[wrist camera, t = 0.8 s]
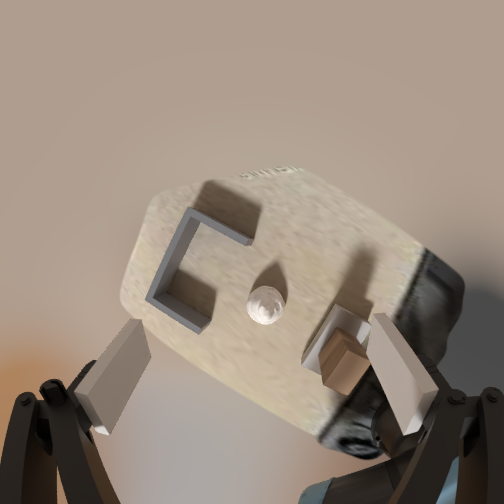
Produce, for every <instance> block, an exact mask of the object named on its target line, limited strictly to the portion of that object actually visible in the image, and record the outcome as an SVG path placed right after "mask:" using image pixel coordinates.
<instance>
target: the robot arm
mask: <svg viewBox="0 0 504 504" xmlns="http://www.w3.org/2000/svg"><path fill="white" fill-rule="evenodd" d="M366 354H367V356H368V358H369V360H370V362H371V365H372V367H373V369H374V371H375V373H376V375H377V377H378V379H379V381H380V383H381V386H382V388H383V390H384V392H385V394H386V397H387V400H386V401H385V402H384V403H383V404H382V405H381V406H380V407H379V409H378V410H377V412H376V413H375V415H374V417H373V420H372V423H371V434H372V437H373V440H374V443H375V444H376V446H377V447H378V448H379V449H380V450H381V451H382V452H383V453H385V454H386V455H387V456H388V457H389V458H390V460H388V461H385V462H382V463H380V464H377V465H374V466H372V467H369V468H366V469H363V470H360V471H357V472H354V473H351V474H348V475H345V476H341V477H338V478H335V477H333V478H331V479H329V480H327V481H323V482H320V483H317V484H313V485H311V486H309V487H307V488H306V489H305V490H304V491H303V493H302V494H301V496H300V499H299V502H298V504H504V395H503V393H502V392H501V391H500V390H499V389H497V388H494V387H488V388H485V389H484V390H483V392H482V393H481V395H480V396H475V397H474V396H473V397H467V396H466V394H465V393H463V392H462V391H460V390H457V389H452V388H451V387H450V386H449V384H448V383H447V381H446V380H445V378H444V377H443V376H442V374H441V373H440V372H439V370H438V369H437V367H435V364H434V363H433V362H432V360H431V359H430V358H428V357H427V356H425V355H424V354H419V355H415V353H414V352H413V350H412V349H411V348H410V346H409V345H408V343H407V342H406V341H405V339H404V338H403V336H402V335H401V334H400V332H399V331H398V330H397V328H396V327H395V325H394V324H393V323H392V321H391V320H390V319H389V317H388V316H387V315H386V313H378V314H373V317H372V323H371V329H370V335H369V341H368V346H367V351H366ZM150 359H151V354H150V350H149V347H148V343H147V339H146V335H145V332H144V328H143V324H142V320H140V319H130V320H129V321H128V322H127V324H126V325H125V326H124V327H123V328H122V330H121V331H120V332H119V334H118V335H117V336H116V337H115V339H114V340H113V341H112V342H111V343H110V345H109V346H108V347H107V349H106V350H105V351H104V353H103V354H102V355H101V356H100V357H99V359H98V360H92V361H91V362H89V363H88V364H87V365H85V367H84V368H83V369H82V370H81V372H80V373H79V374H78V377H76V378H75V379H74V381H73V382H72V383H71V385H70V386H69V387H68V389H67V390H66V389H65V387H64V385H63V383H62V381H60V380H58V379H51V380H48V381H46V382H44V383H43V384H42V385H41V387H40V390H39V391H40V393H41V395H42V397H43V398H44V400H37V398H36V397H35V395H34V394H33V393H31V392H24V393H22V394H20V395H19V396H18V397H17V398H16V400H15V403H14V407H13V410H12V414H11V417H10V421H9V425H8V429H7V433H6V438H5V442H4V447H3V452H2V457H1V463H0V504H57V466H58V471H59V474H60V478H61V482H62V485H63V489H64V492H65V496H66V499H67V502H68V504H121V503H120V501H119V499H118V498H117V495H116V493H115V491H114V489H113V487H112V485H111V483H110V480H109V478H108V476H107V473H106V471H105V468H104V466H103V463H102V461H101V458H100V456H99V453H98V450H97V447H96V445H95V442H94V439H93V436H92V433H91V432H90V430H89V429H90V427H91V426H92V425H93V426H94V428H95V430H96V431H97V432H99V433H102V434H106V435H110V434H111V432H112V430H113V429H114V427H115V425H116V423H117V421H118V419H119V417H120V415H121V413H122V411H123V409H124V407H125V405H126V404H127V402H128V400H129V398H130V396H131V394H132V392H133V390H134V389H135V387H136V385H137V383H138V381H139V379H140V377H141V375H142V373H143V372H144V370H145V368H146V366H147V365H148V363H149V361H150Z"/></svg>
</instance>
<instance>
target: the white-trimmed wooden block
mask: <svg viewBox="0 0 504 504" xmlns="http://www.w3.org/2000/svg"><path fill="white" fill-rule="evenodd" d="M370 329H371V324H370V323H369V322H368V321H367V320H366V319H364V318H362V317H360V316H358V315H356V314H355V313H353V312H351V311H349V310H347V309H345V308H343V307H342V306H340V305H338V304H336V303H335V304H334V306H333V308H332V309H331V311H330V313H329V314H328V316H327V318H326V319H325V321H324V323H323V324H322V326H321V328H320V329H319V331H318V332H317V334H316V336H315V337H314V339H313V340H312V342H311V344H310V345H309V347H308V348H307V350H306V351H305V353H304V354H303V356H302V357H301V366H303V367H305V368H307V369H309V370H311V371H313V372H316V373H318V374H320V375H322V381H323V385H325V386H327V387H329V388H331V389H333V390H336V391H338V392H340V393H342V394H345V395H347V396H348V394H349V393H350V392H351V390H352V389H353V388H354V386H355V385H356V384H357V382H358V381H359V380H360V378H361V377H362V375H363V374H364V373H365V371H366V370H367V368H368V367H369V365H370V364H371V362H370V360H369V358H368V356H367V354H366V352H365V350H364V348H363V347H362V345H361V344H362V342H363V341H364V339H365V337H366V336H367V334H368V333H369V331H370Z"/></svg>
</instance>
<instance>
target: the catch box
mask: <svg viewBox="0 0 504 504" xmlns="http://www.w3.org/2000/svg"><path fill="white" fill-rule="evenodd" d="M200 222H202V223H204V224H206V225H208V226H209V227H211V228H213V229H215V230H217V231H219V232H220V233H222V234H224V235H226V236H228V237H230V238H231V239H233V240H235V241H237V242H239V243H241V244H243V245H244V246H251V244H252V243H253V241H254V239H252V238H251V237H249V236H247V235H245V234H243V233H241V232H239V231H238V230H236V229H234V228H232V227H230V226H228V225H226V224H224V223H223V222H221V221H219V220H217V219H215V218H213V217H211V216H209V215H208V214H206V213H204V212H202V211H200V210H197V209H194V208H191V207H187V209H186V211H185V213H184V215H183V217H182V219H181V221H180V223H179V225H178V227H177V229H176V232H175V234H174V236H173V238H172V240H171V242H170V244H169V246H168V248H167V251H166V253H165V255H164V257H163V259H162V261H161V264H160V266H159V268H158V270H157V273H156V275H155V277H154V279H153V282H152V284H151V286H150V289H149V291H148V293H147V296H146V298H145V300H146V301H147V302H149V303H150V304H152V305H153V306H155V307H156V308H158V309H159V310H161V311H162V312H164V313H165V314H167V315H168V316H170V317H171V318H173V319H175V320H176V321H178V322H179V323H181V324H182V325H184V326H186V327H187V328H189V329H191V330H192V331H194V332H195V333H197V334H200V333H201V332H202V331H203V330H204V329H205V328H206V327H207V326H208V325H209V324H210V322H211V319H210V318H208V317H206V316H205V315H203V314H201V313H200V312H198V311H196V310H195V309H193V308H191V307H190V306H188V305H187V304H185V303H183V302H182V301H180V300H178V299H177V298H175V297H174V296H172V295H171V294H169V293H167V291H168V289H169V286H170V284H171V282H172V280H173V278H174V276H175V273H176V271H177V269H178V267H179V265H180V263H181V261H182V259H183V257H184V254H185V252H186V250H187V248H188V246H189V244H190V242H191V240H192V238H193V236H194V234H195V232H196V230H197V228H198V226H199V224H200Z"/></svg>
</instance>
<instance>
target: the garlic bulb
mask: <svg viewBox="0 0 504 504" xmlns="http://www.w3.org/2000/svg"><path fill="white" fill-rule="evenodd" d="M246 306H247V311H248V313H249V315H250V316H251V318H252V319H253V320H255V321H257V322H259V323H261V324H265V325H268V324H271V323H273V322H275V321H276V320H277V319H278V318H279V317H280V316H281V315H282V314H283V312H284V309H285V302H284V300H283V298H282V296H281V294H280V293H279V292H278V291H277V290H276V289H275V288H273V287H269V286H261V287H258V288H257V289H255V290H254V291H253V292H251V293H250V295H249V297H248V300H247V305H246Z"/></svg>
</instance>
